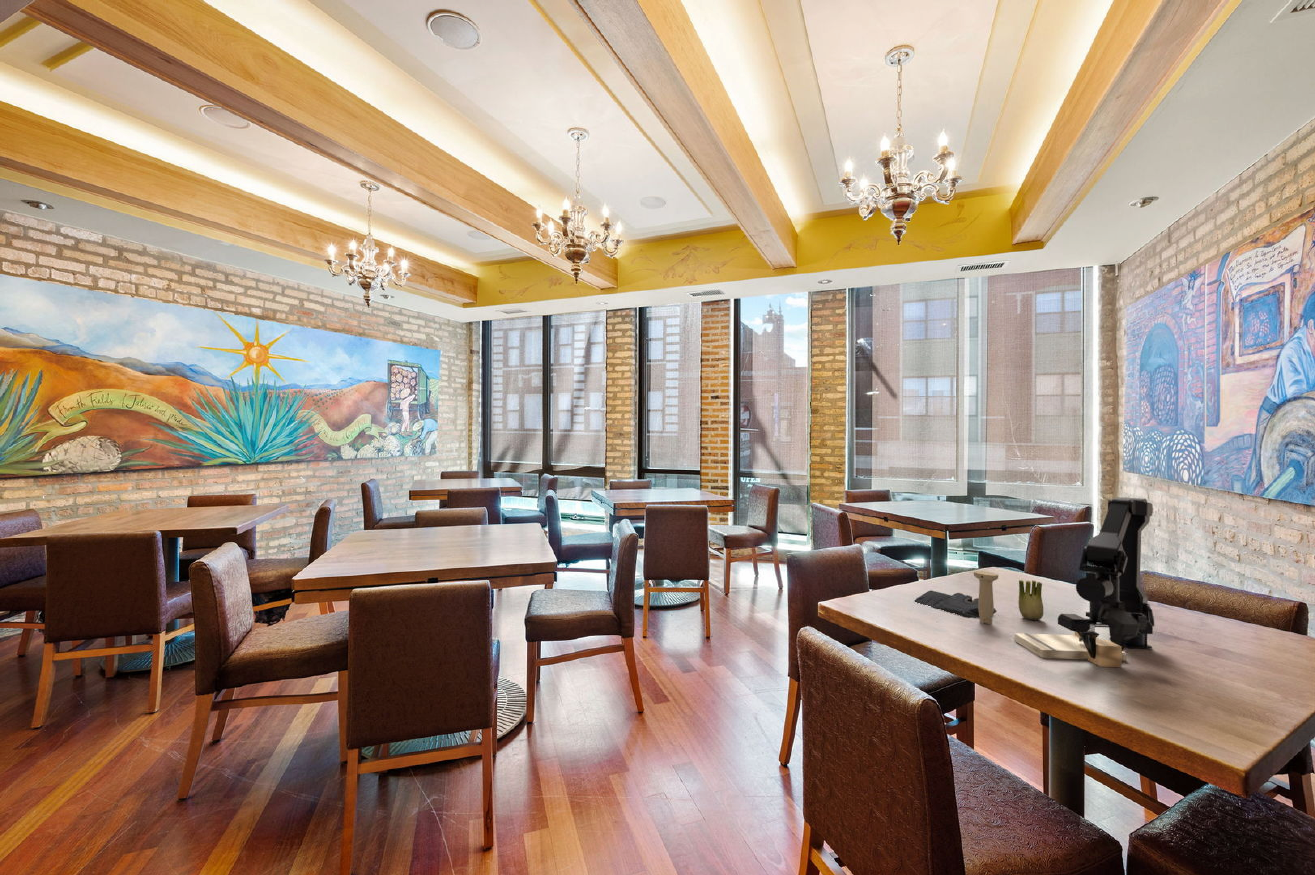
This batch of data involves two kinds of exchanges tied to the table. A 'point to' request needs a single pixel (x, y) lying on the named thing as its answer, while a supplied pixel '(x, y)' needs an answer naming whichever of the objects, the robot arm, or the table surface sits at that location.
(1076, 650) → the ash plank
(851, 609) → the table surface
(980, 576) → the handle
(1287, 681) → the table surface
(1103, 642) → the marking gauge
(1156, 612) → the table surface
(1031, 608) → the fennel bulb
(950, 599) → the dark slate chunk
